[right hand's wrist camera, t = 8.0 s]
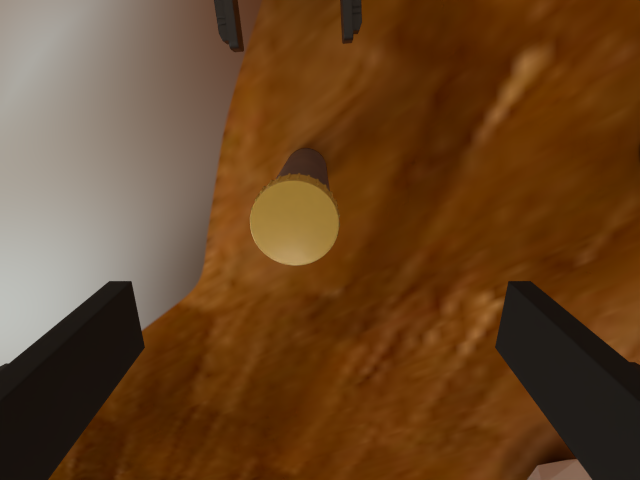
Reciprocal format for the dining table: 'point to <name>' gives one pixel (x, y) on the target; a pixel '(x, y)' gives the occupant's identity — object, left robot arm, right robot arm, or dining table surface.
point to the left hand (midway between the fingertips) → (292, 46)
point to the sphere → (560, 471)
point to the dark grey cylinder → (306, 165)
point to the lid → (295, 219)
